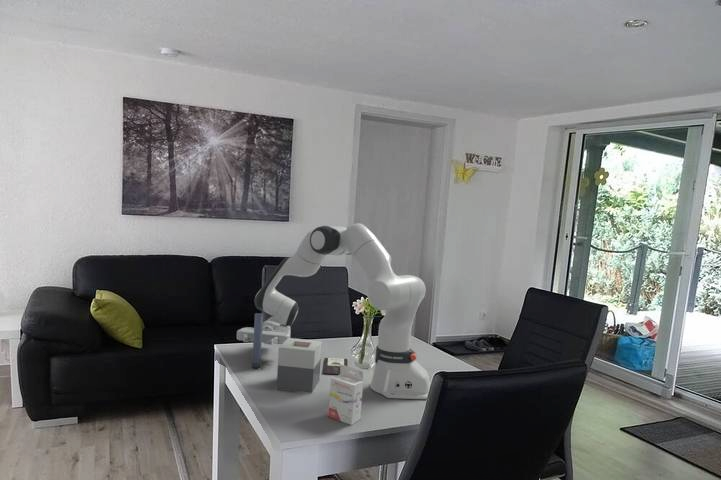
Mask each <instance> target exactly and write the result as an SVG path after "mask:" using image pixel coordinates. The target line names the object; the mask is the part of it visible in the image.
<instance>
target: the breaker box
mask: <svg viewBox="0 0 721 480" xmlns="http://www.w3.org/2000/svg"><path fill="white" fill-rule="evenodd" d="M322 344H323V341H322V340H313V339H304V338H303V339H302V338H293V337H290V338H288V339H287V340H286V341H285V342H284V343H283V344H280V345H279V346H278V355H277V356H278V358H277V370H276V371H277V375H276V389H275V390H280V391H281V390H283V391H291V392H300V393H307V394H308V393H310V394H313V392H314V391H315V389H316V387H317V385H318V384H319V381H320V380H321V379H320V377H321V376H320V375H321V365H322V363H321V362H322V361H321V360H322V359H321V358H322Z"/></svg>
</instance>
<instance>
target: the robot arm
mask: <svg viewBox="0 0 721 480" xmlns="http://www.w3.org/2000/svg"><path fill="white" fill-rule="evenodd" d="M327 255H328V256H344V255H347V256H349V255H351V256H352V258H353V259H354V260H355V263H356V264H357V265H358V266H359V268H360V269H361V271H362V272H363V274H364V276H365V278H366V280H367V284H368V288H367V291H366V292H367V300H368V302H369V304H370V306H372V308H374V309H376V310H379V311H386V313H385V315H384V317H383V318H382V319H381V320H380V322H379V324H378V334H377V335H378V336H377V345H376V347H375V353H374V354H375V355H374V362H375V365H374V371H373V375H372V379H371V381H370V383H369V388H370V390H372V391H374V392H376V393H378V394H380V395H382V396H384V397H385V398H387V399H404V400H405V399H406V400H407V399H410V400H428V399H427V394H428V391H429V387H430V383H431V382H430V377H429V376H430V375H429V373H428V371H427V370H426V369H425V367H423V366H422V365H421V364H420V363H419V362H418V361H416V360H417V354H416V352H415V350H414V349H412V348H411V338H412V328H413V325H414V324H413V323H414V320H415V317H416V314H417V311H418V308H419V306H420V304H421V302H422V301H423V299H424V298H425V296H426V293H427V288H426V284H425V282H424V281H423V280H422V279H421V278H420V277H418V276H416V275H413V274H412V275H411V274H404V275H403V274H401V275H397V274H396V273H395V272H394V270H393V268H392V266H391V264H392V255H390V254H389V251H387V249H386V248H385V247H384V245H383V243H381V241H380V239H378V238H377V236H376V235H375V234H374V232H372V231H371V230H370V229H369V228H368V227H367V226H366V225H365V224H363V223H359V222H357V223H356V222H355V223H353V224H351V225H349V226H347V227H346V226H341V225H340V226H338V225H322V226H317V227H316V228H314V229H312V230H309V231H308V232H307V233H306V234H305V235H304V237H303V239H302V241H301V242H300V244H299V245H298V247H297V249H296V252H295V253H294V254H293V255H292V256H290V257H289V256H286V257H284V259H283V260H281V262H280V263H279V264H278V265H277V267H276V268H275V269H274V271H273V272H272V274H271V275H270V277H269V278H268V279H267V280H266V282H265V283H264V285H263V286H262V287H261V288H260V289H259V291H257V293H256V295H255V297H254V299H253V301H254V306H255V308H256V309H258V310H259V311H262V312H264V313H267V314H268V315H270V316H271V317H269V318H267V320H265V321H263V327H262V343H263V344H265V345H268V346H269V345H271V346H273V345H275V344H277V345H282V344H283V343H284V342H285V341H286V340H287V339H288V338H291V331H292V330H291V326H292V325H293V324H294V323H295V321H296V319H297V317H298V314H299V311H300V308H299V304H298V302H297V301H296V300H294V299H292V298H290V297H288V296H286V295H285V294H283V293H282V292H279V291H278V290H277V289H276V287H277V285H278V284H279V283H280V281H281V280H282V278H283V277H284V276H285V277H286V276H295V277H299V278H307V277H312V276H313V275H315V274H316V273H317V272H318V271H319V269H320V267H321V266H322V263H324V262H323V261H324V259H325V258H326V257H327ZM253 339H254V327H250V326H249V327H248V326H246V327H242V328H240V329H237V331H236V340H238V341H243V343H248V342H253Z"/></svg>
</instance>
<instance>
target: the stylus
mask: <svg viewBox="0 0 721 480" xmlns="http://www.w3.org/2000/svg"><path fill="white" fill-rule="evenodd" d="M253 321H254V324H253V325H254V326H253V328H254V339H253V343H252V357H251V358H252V359H251V368H252V369H253V370H258V369H261V362H262V361H261V358H262V343H263V342H262V327H263V322H264V313H259V312H256V313H254V320H253Z"/></svg>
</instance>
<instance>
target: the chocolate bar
mask: <svg viewBox="0 0 721 480" xmlns="http://www.w3.org/2000/svg"><path fill="white" fill-rule="evenodd" d="M341 365H345V366H348V359H347V358H334V357H324V362H323V369H322V370H323V371H322V375H325V376H337V375H339V374H340V366H341Z"/></svg>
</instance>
